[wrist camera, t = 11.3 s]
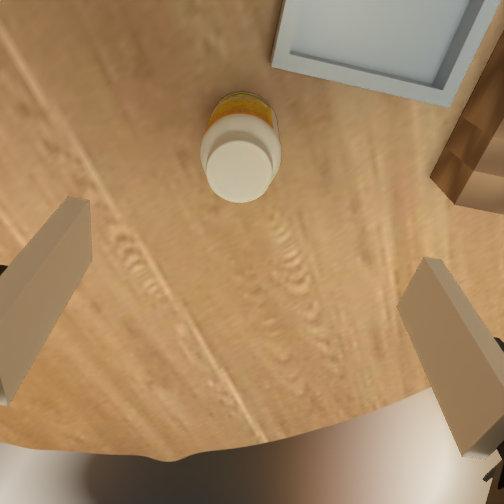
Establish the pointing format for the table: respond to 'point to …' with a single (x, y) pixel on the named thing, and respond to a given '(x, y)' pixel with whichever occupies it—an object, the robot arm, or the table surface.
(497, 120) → the wooden peg board
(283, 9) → the tray
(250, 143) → the supplement bottle
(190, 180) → the table surface
